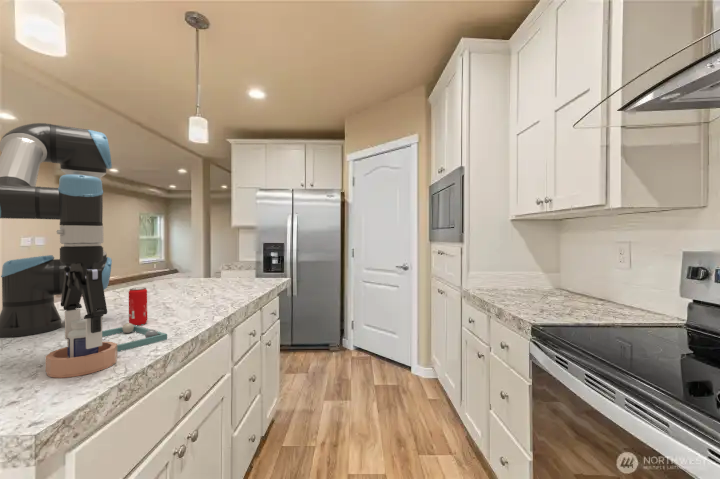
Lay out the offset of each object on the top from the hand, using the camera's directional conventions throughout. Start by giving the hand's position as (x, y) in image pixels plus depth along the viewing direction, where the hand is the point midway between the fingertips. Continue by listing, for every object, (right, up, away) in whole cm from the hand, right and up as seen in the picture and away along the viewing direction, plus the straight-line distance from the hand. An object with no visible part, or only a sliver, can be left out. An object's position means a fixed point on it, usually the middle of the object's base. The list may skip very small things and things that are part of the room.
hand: (83, 342), depth 76 cm
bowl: (0, -5, 0) cm, 5 cm away
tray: (-5, -5, +19) cm, 20 cm away
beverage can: (-12, -6, +38) cm, 40 cm away
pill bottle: (0, -5, 0) cm, 5 cm away
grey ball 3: (+3, -5, +19) cm, 20 cm away
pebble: (-8, -5, +27) cm, 29 cm away
